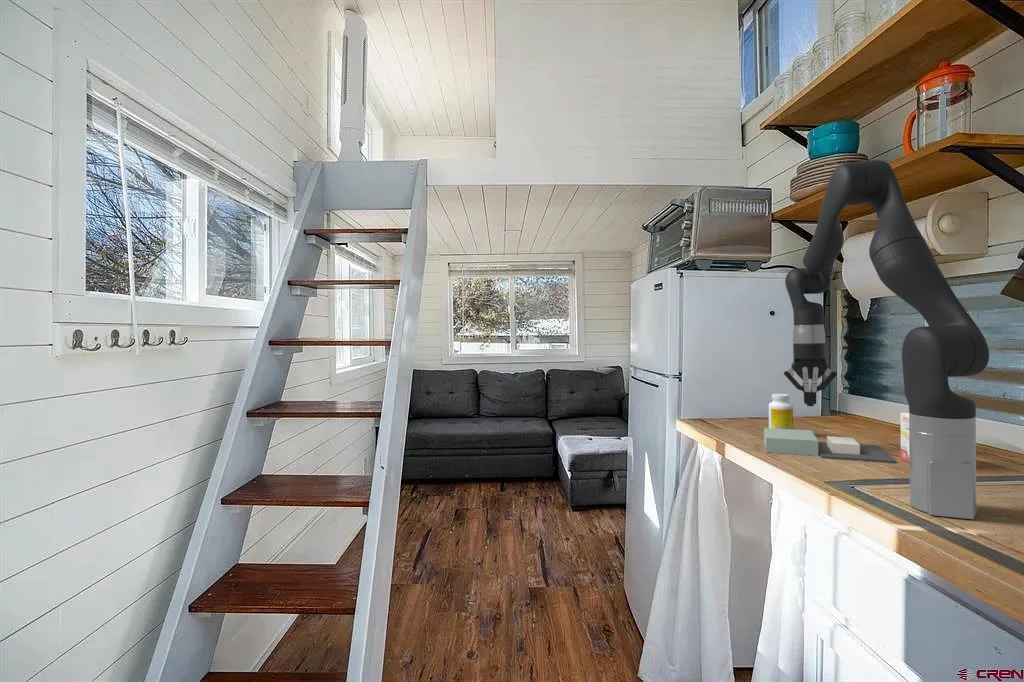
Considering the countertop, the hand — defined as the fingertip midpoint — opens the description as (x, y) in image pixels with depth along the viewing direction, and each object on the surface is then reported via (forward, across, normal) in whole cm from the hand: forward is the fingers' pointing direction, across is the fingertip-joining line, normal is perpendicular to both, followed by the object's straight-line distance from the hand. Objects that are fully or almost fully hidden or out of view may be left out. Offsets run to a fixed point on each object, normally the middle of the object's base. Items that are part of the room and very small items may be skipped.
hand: (810, 405), depth 137 cm
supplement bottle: (+12, -6, +16) cm, 21 cm away
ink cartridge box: (+12, +22, -8) cm, 26 cm away
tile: (+10, +7, 0) cm, 13 cm away
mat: (+12, +9, 0) cm, 15 cm away
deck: (+12, -5, 0) cm, 13 cm away
